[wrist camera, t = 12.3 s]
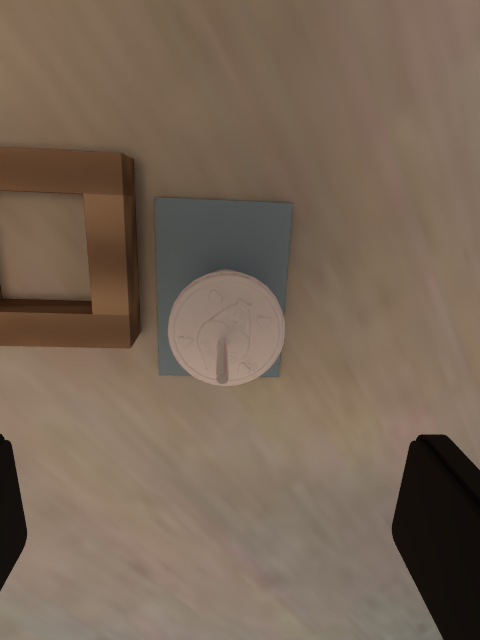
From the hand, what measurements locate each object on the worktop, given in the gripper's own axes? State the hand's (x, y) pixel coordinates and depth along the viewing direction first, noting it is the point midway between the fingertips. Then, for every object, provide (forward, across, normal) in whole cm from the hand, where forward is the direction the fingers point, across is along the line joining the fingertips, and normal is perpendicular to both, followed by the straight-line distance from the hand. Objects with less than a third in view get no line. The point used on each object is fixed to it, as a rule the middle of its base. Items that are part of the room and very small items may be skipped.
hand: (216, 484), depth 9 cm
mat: (+22, 0, +1) cm, 22 cm away
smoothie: (+21, -1, +1) cm, 21 cm away
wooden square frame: (+22, +13, -2) cm, 25 cm away
